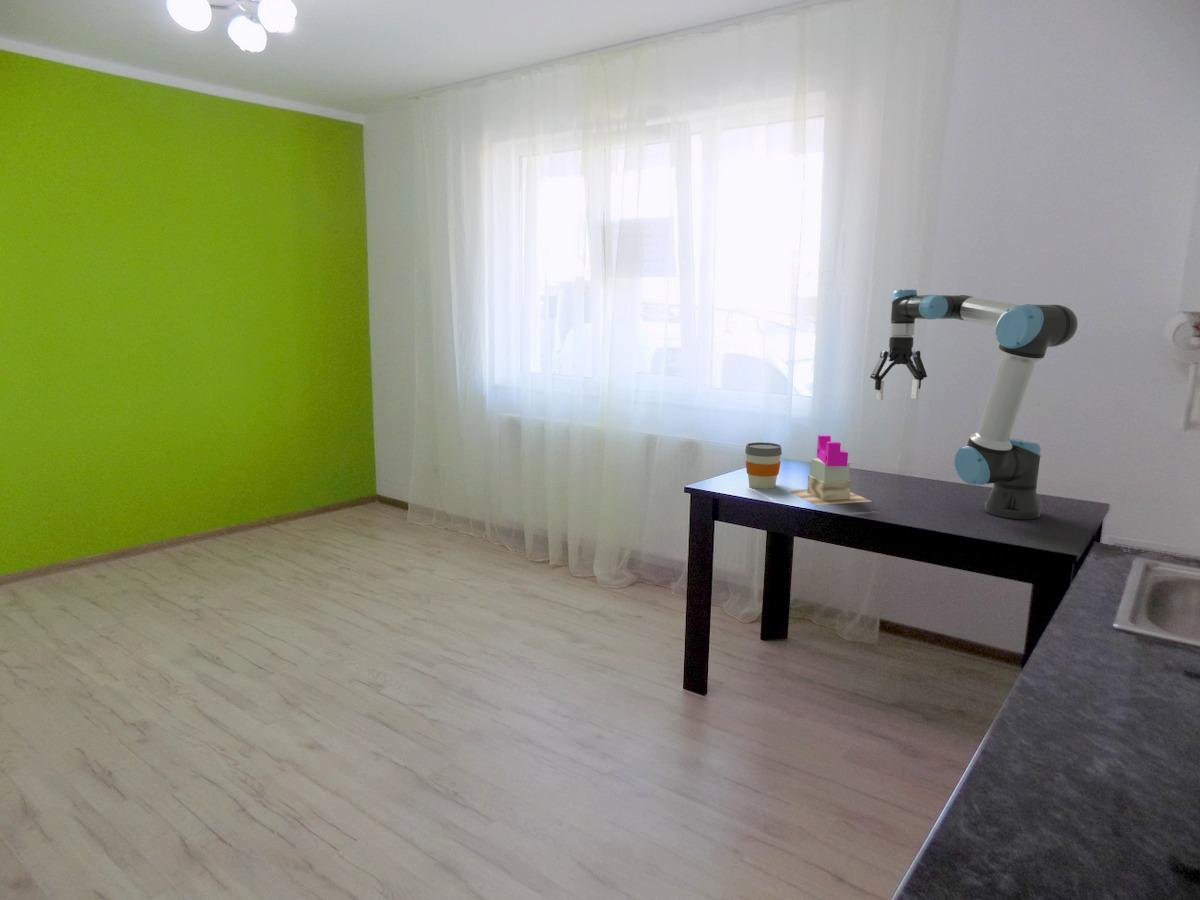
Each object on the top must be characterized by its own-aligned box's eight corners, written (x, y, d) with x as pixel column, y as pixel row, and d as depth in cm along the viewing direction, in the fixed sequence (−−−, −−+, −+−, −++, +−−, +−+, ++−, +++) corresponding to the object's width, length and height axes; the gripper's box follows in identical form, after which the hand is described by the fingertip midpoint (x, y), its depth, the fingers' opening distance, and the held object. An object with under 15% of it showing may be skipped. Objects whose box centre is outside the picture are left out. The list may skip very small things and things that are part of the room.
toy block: (847, 466, 241) (848, 443, 239) (827, 466, 241) (828, 443, 240) (835, 457, 255) (836, 435, 254) (816, 456, 256) (817, 435, 254)
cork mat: (872, 503, 245) (872, 501, 244) (816, 506, 240) (816, 505, 240) (839, 488, 264) (839, 487, 264) (786, 492, 259) (786, 490, 259)
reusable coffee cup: (762, 481, 275) (763, 441, 272) (787, 488, 265) (789, 446, 262) (736, 485, 268) (737, 444, 266) (761, 493, 258) (763, 450, 255)
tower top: (848, 480, 247) (850, 462, 246) (824, 482, 245) (825, 464, 244) (834, 474, 256) (835, 457, 255) (810, 476, 254) (811, 458, 253)
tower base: (849, 498, 248) (851, 480, 247) (822, 500, 246) (823, 482, 245) (833, 491, 258) (834, 474, 257) (807, 493, 255) (808, 475, 254)
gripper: (926, 335, 259) (921, 396, 263) (862, 336, 254) (858, 398, 258) (941, 336, 252) (936, 399, 256) (875, 337, 246) (870, 401, 250)
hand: (897, 399), depth 257 cm, fingers open, 13 cm apart
